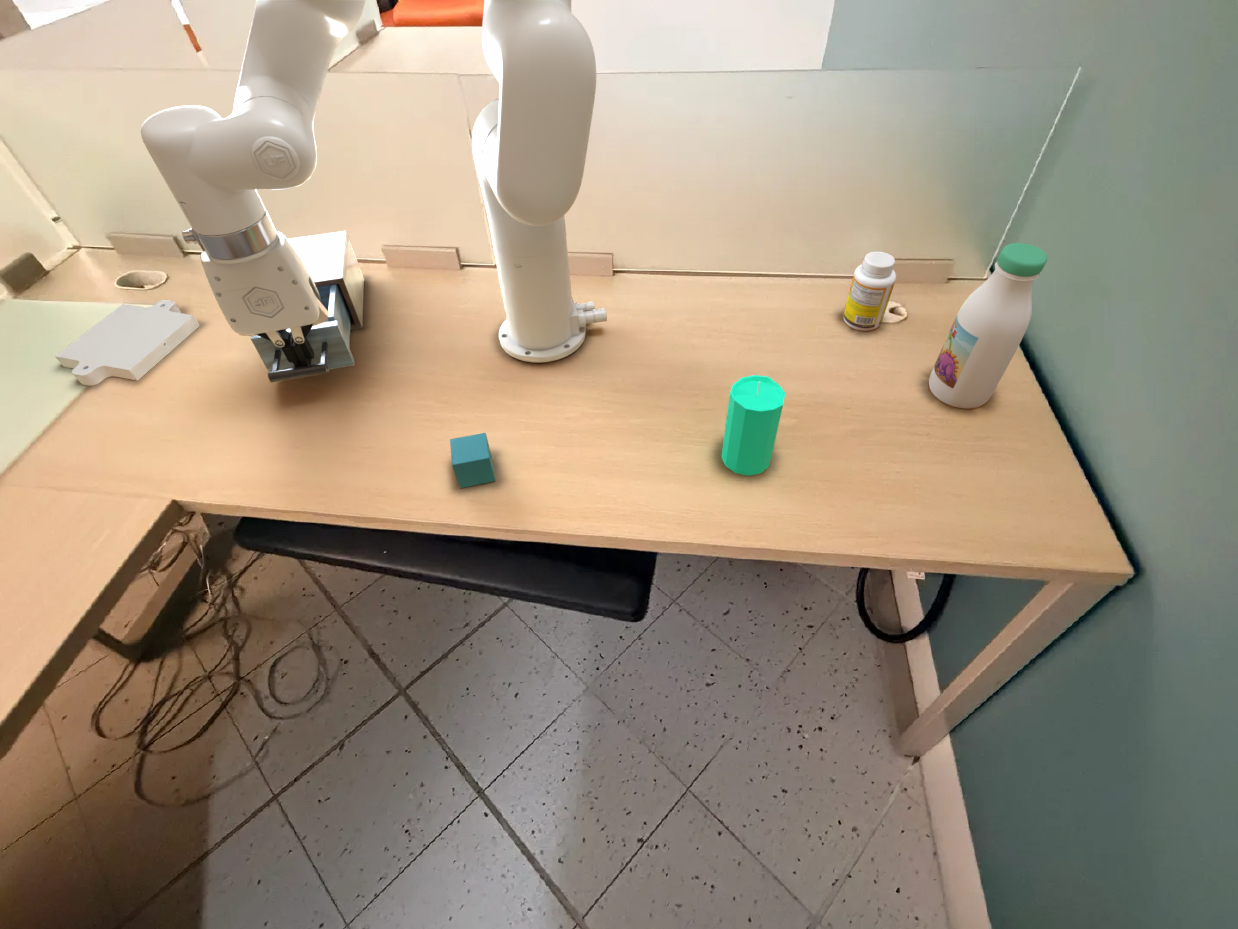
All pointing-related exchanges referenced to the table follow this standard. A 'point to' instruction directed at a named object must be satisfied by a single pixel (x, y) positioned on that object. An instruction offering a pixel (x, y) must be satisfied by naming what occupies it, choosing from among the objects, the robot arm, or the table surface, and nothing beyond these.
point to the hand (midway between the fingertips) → (304, 363)
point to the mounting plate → (127, 342)
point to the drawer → (314, 342)
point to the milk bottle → (988, 330)
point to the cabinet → (334, 267)
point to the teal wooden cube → (472, 460)
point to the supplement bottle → (870, 291)
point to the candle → (752, 424)
